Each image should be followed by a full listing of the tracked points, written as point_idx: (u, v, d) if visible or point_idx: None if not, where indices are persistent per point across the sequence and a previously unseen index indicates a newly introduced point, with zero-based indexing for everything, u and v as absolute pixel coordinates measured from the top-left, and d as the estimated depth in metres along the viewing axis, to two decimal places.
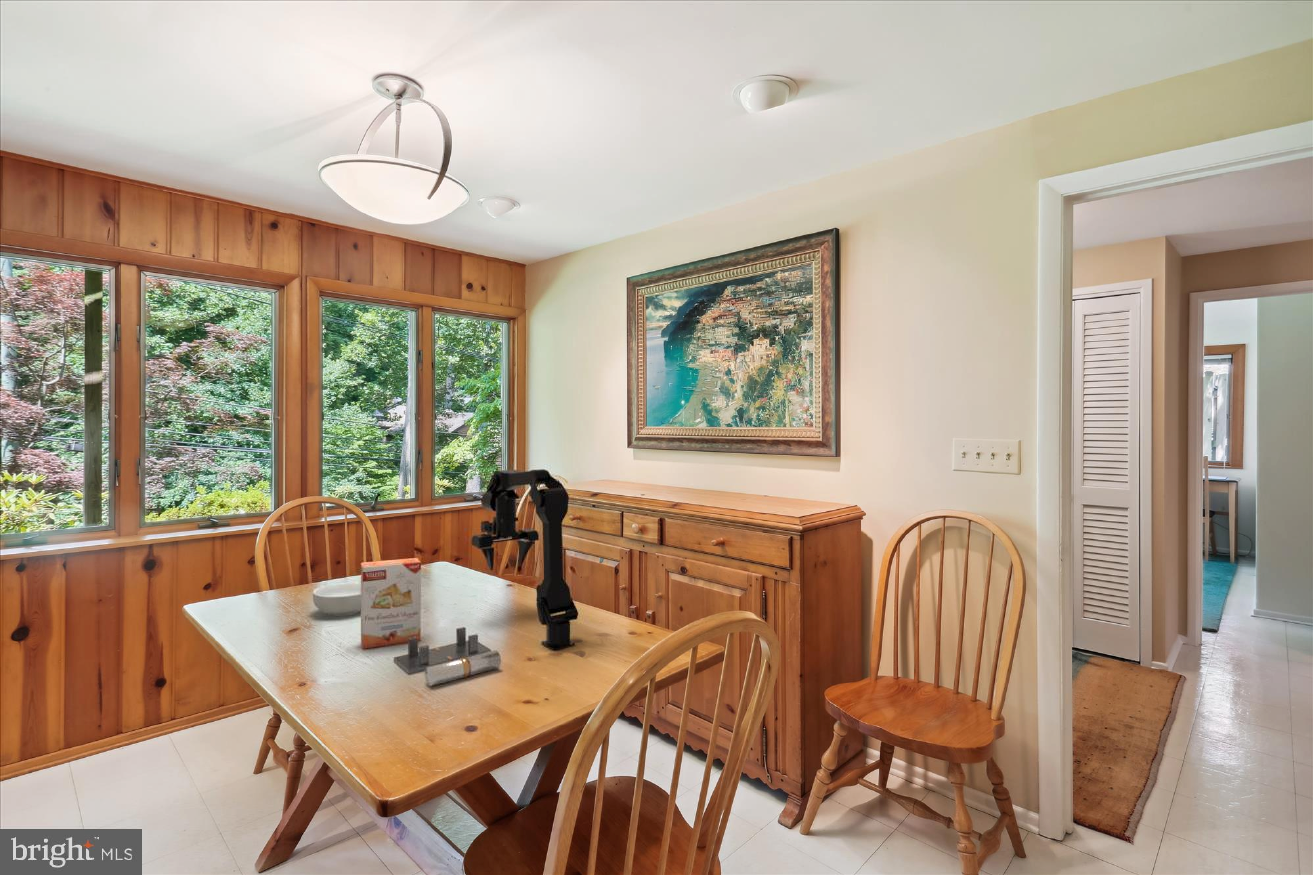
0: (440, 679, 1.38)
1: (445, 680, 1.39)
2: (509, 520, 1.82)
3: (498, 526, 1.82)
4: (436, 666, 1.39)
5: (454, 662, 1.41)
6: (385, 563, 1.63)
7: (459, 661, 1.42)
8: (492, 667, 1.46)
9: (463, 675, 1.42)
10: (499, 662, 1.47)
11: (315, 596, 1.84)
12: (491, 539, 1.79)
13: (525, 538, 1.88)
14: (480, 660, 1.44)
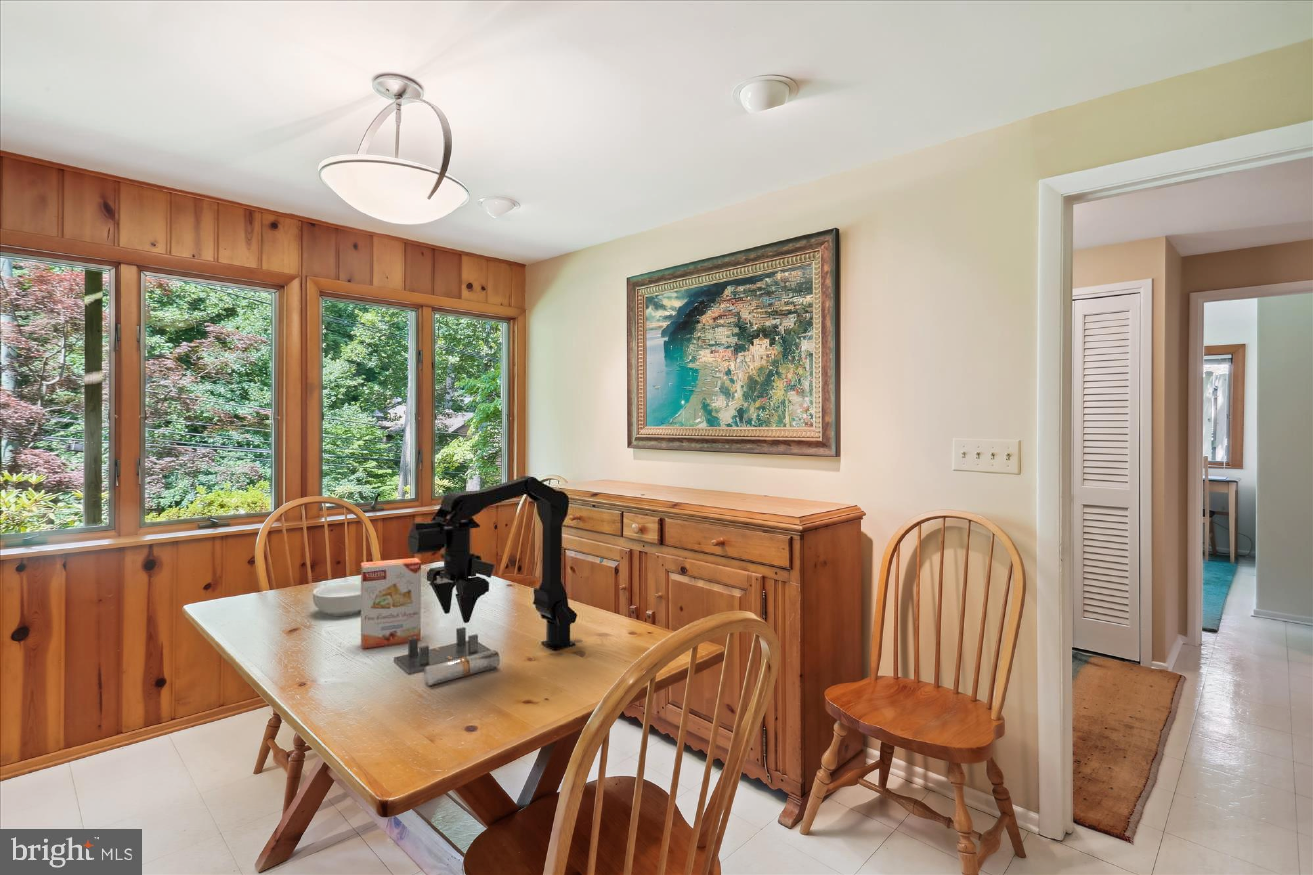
0: (439, 676, 1.38)
1: (444, 678, 1.39)
2: (444, 557, 1.43)
3: None
4: (434, 665, 1.40)
5: (452, 660, 1.42)
6: (385, 563, 1.63)
7: (457, 659, 1.43)
8: (491, 665, 1.46)
9: (462, 673, 1.42)
10: (498, 659, 1.47)
11: (315, 596, 1.84)
12: (433, 574, 1.47)
13: None
14: (478, 657, 1.45)
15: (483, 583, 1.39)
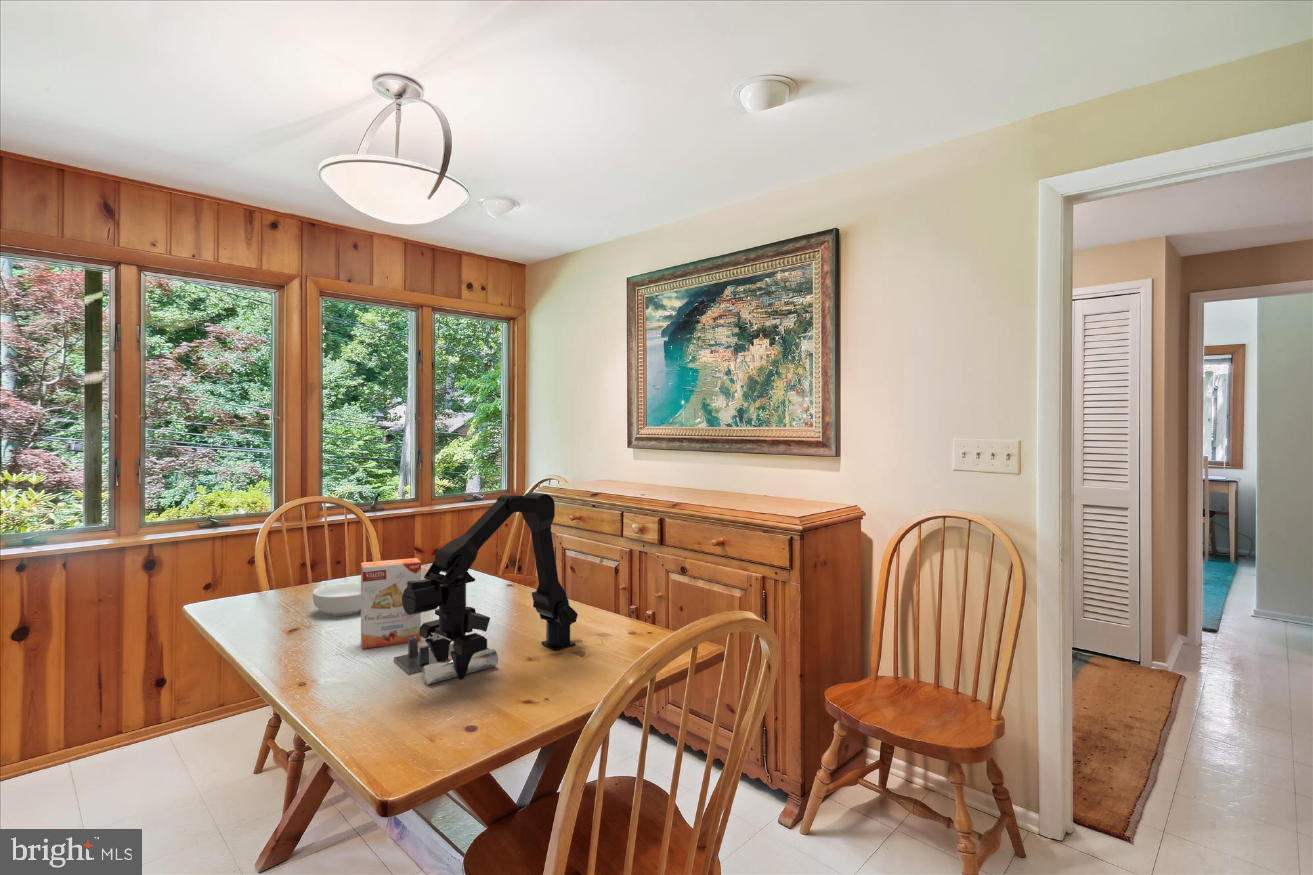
0: (437, 672, 1.39)
1: (443, 673, 1.40)
2: (439, 614, 1.40)
3: None
4: None
5: (449, 659, 1.43)
6: (385, 563, 1.63)
7: None
8: (490, 660, 1.47)
9: None
10: (496, 654, 1.48)
11: (315, 596, 1.84)
12: (426, 630, 1.43)
13: None
14: (475, 654, 1.46)
15: (482, 641, 1.36)
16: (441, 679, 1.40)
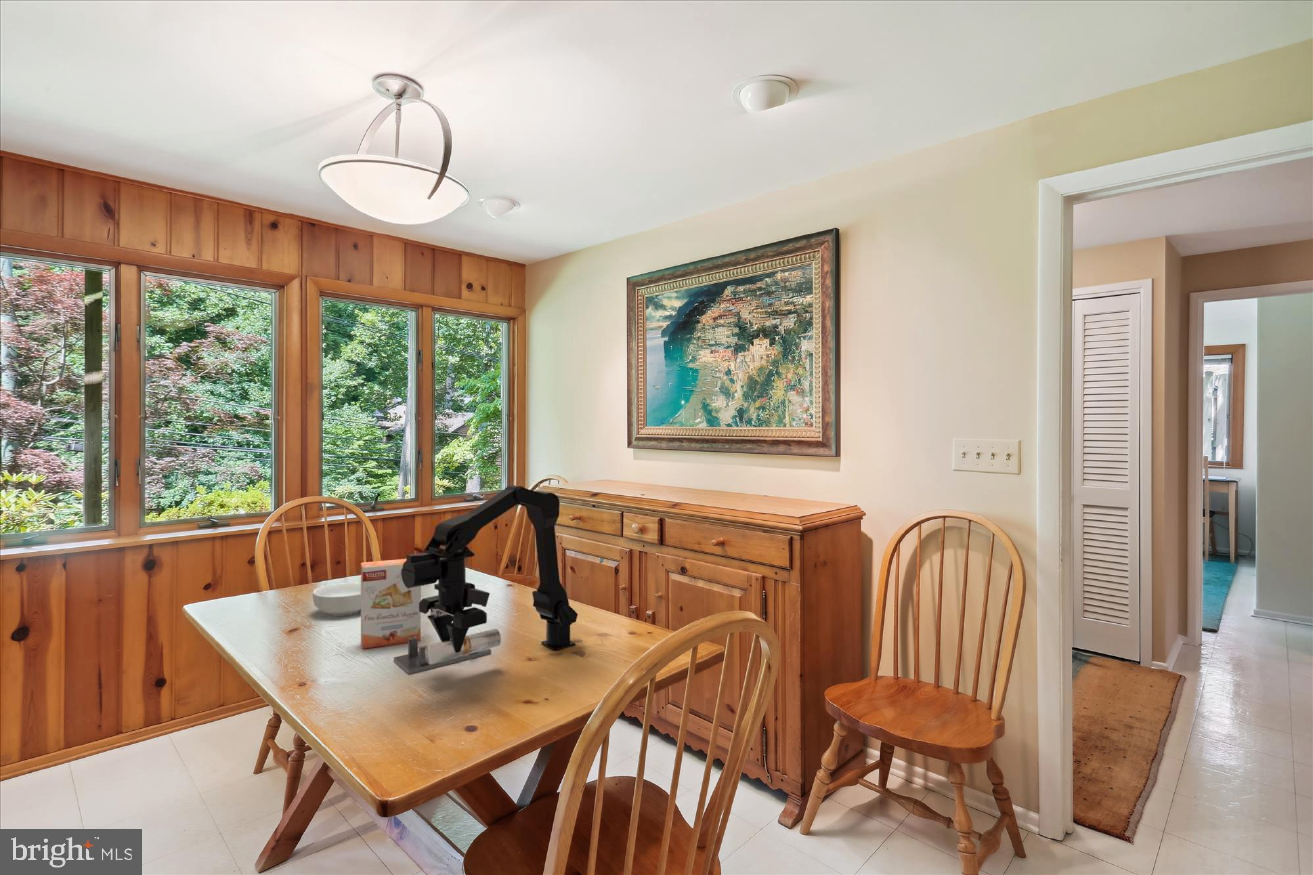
0: (441, 655, 1.38)
1: (446, 656, 1.39)
2: (438, 588, 1.39)
3: None
4: (435, 643, 1.39)
5: None
6: (385, 563, 1.63)
7: None
8: (493, 643, 1.46)
9: (464, 651, 1.41)
10: (499, 638, 1.47)
11: (315, 596, 1.84)
12: (426, 605, 1.43)
13: None
14: (479, 636, 1.44)
15: (481, 615, 1.36)
16: (443, 660, 1.39)
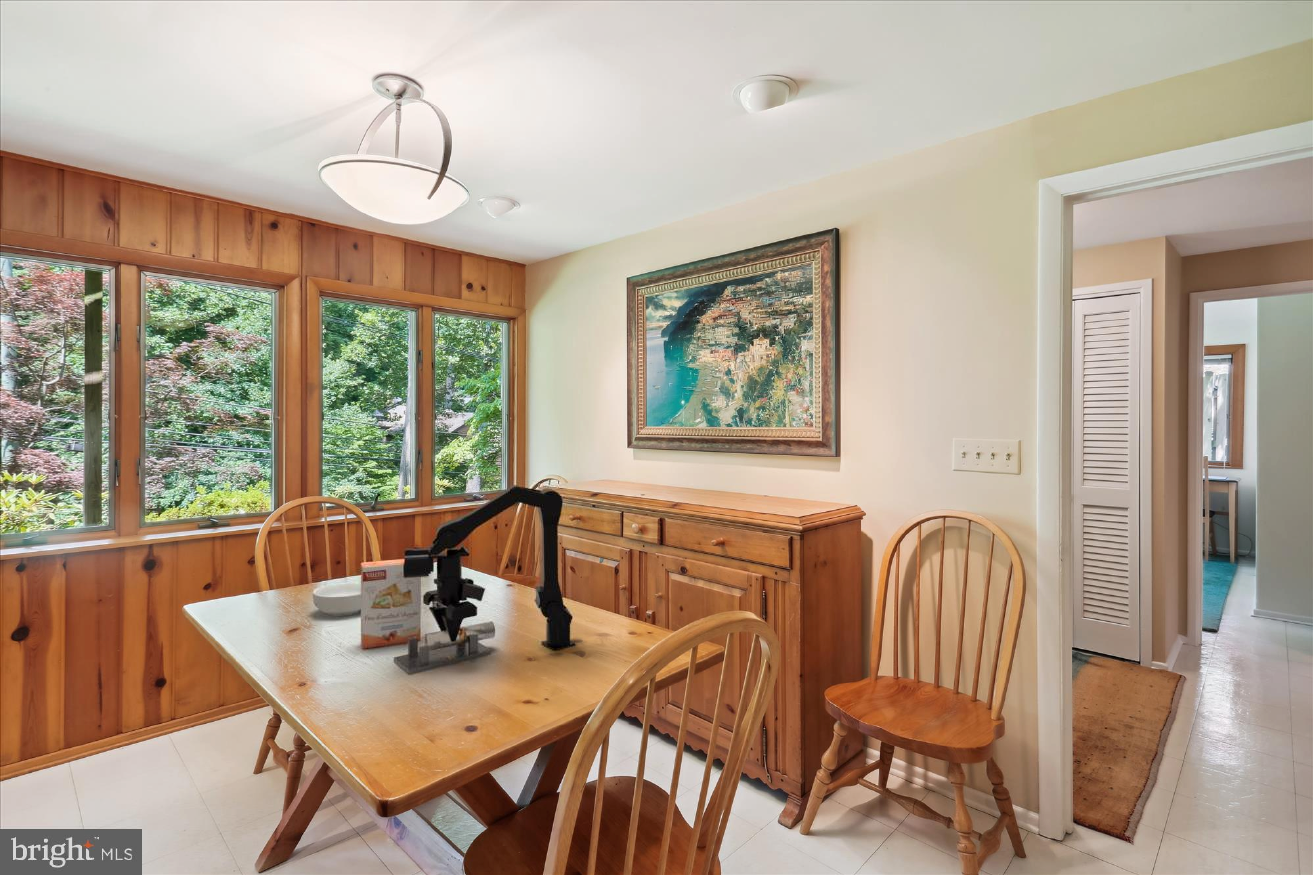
0: (437, 643, 1.52)
1: (442, 644, 1.53)
2: (436, 582, 1.54)
3: None
4: (433, 632, 1.54)
5: None
6: (385, 563, 1.63)
7: None
8: (487, 635, 1.59)
9: (459, 641, 1.55)
10: (493, 630, 1.60)
11: (315, 596, 1.84)
12: (428, 597, 1.58)
13: None
14: (474, 627, 1.58)
15: (471, 608, 1.49)
16: (440, 648, 1.53)
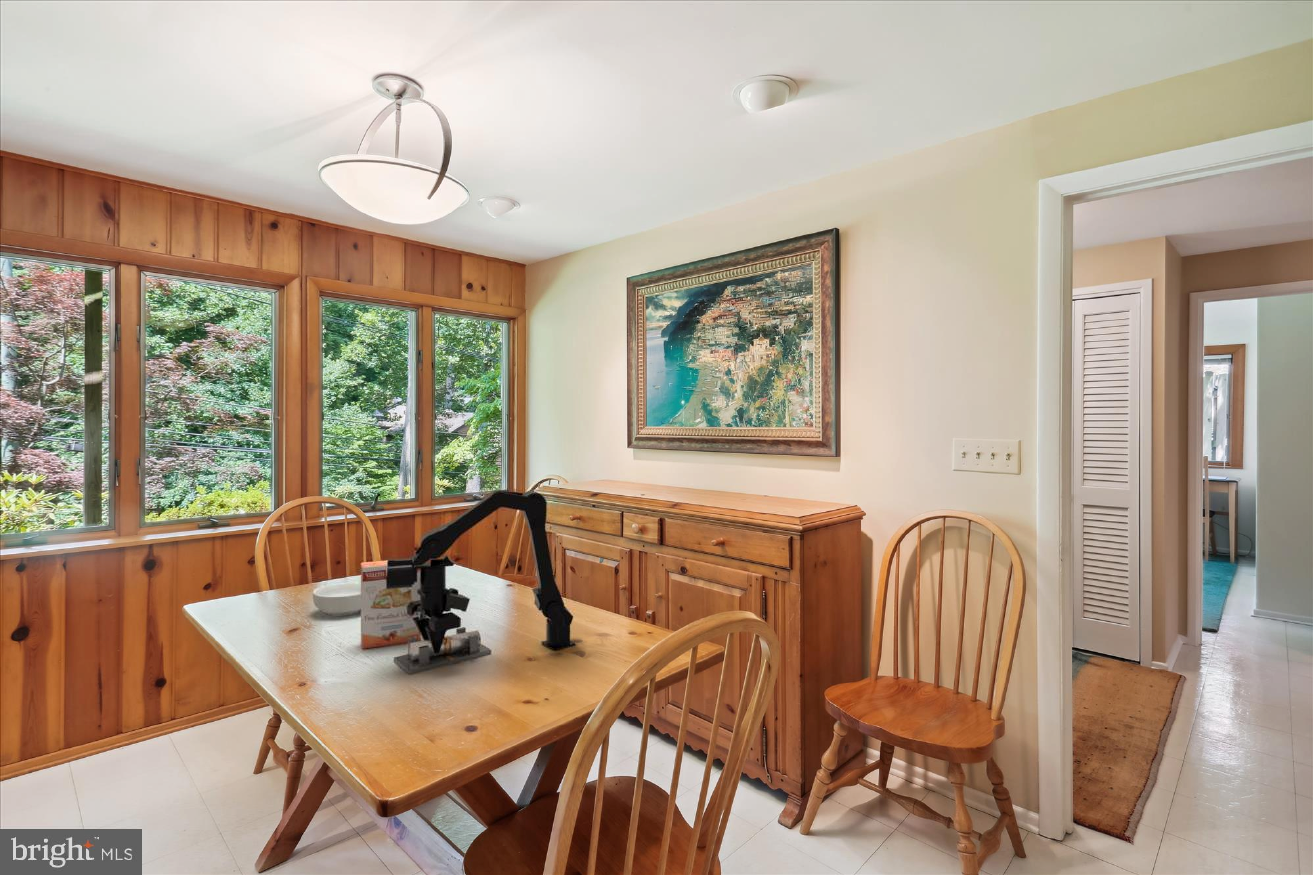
0: None
1: None
2: (420, 593, 1.51)
3: None
4: (418, 641, 1.51)
5: None
6: (385, 563, 1.63)
7: None
8: None
9: (444, 650, 1.53)
10: (479, 639, 1.57)
11: (315, 596, 1.84)
12: (411, 608, 1.55)
13: None
14: (460, 636, 1.56)
15: (454, 619, 1.47)
16: None
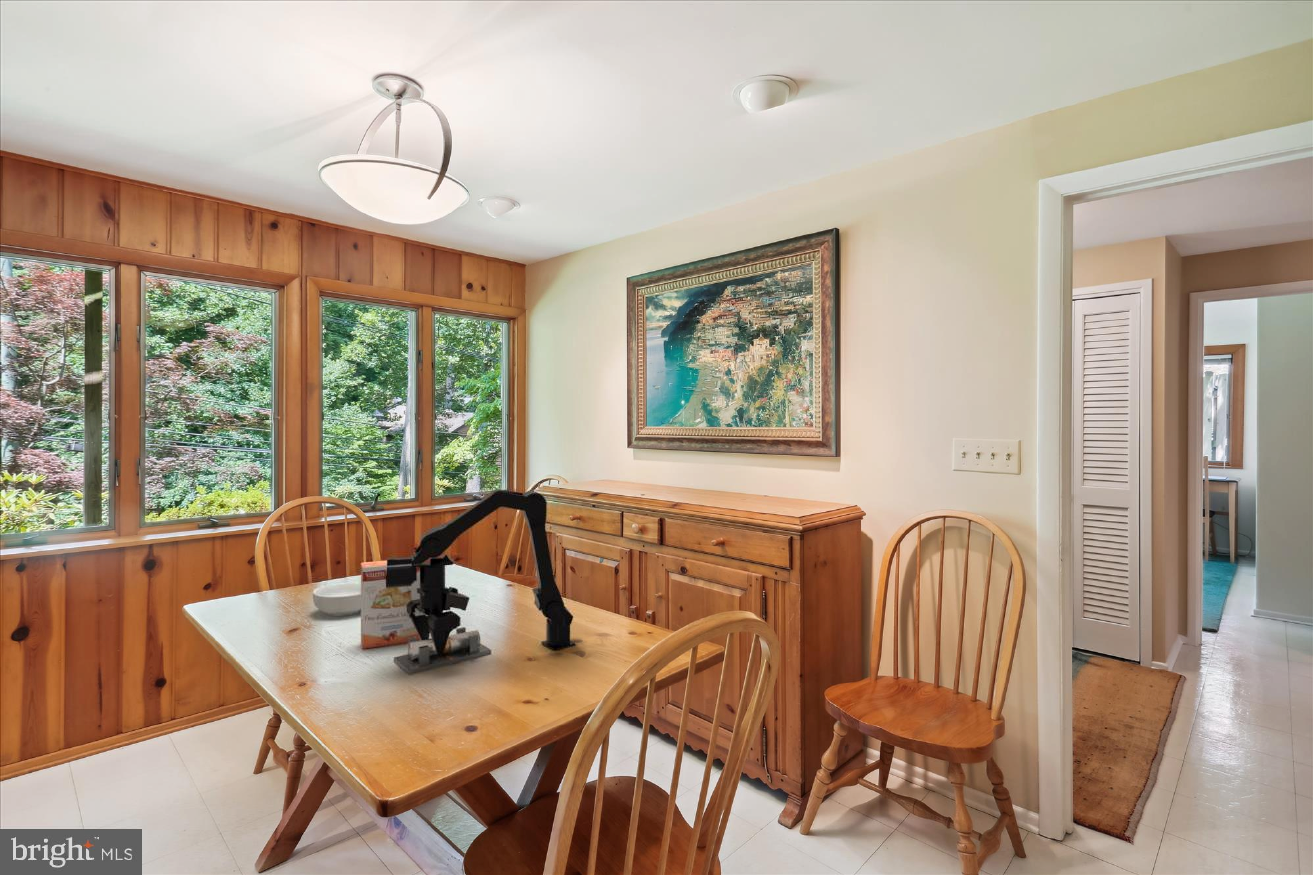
0: None
1: None
2: (419, 592, 1.51)
3: None
4: (417, 641, 1.52)
5: None
6: (385, 563, 1.63)
7: None
8: None
9: None
10: (478, 638, 1.58)
11: (315, 596, 1.84)
12: (411, 607, 1.55)
13: None
14: (459, 635, 1.56)
15: (454, 618, 1.47)
16: None
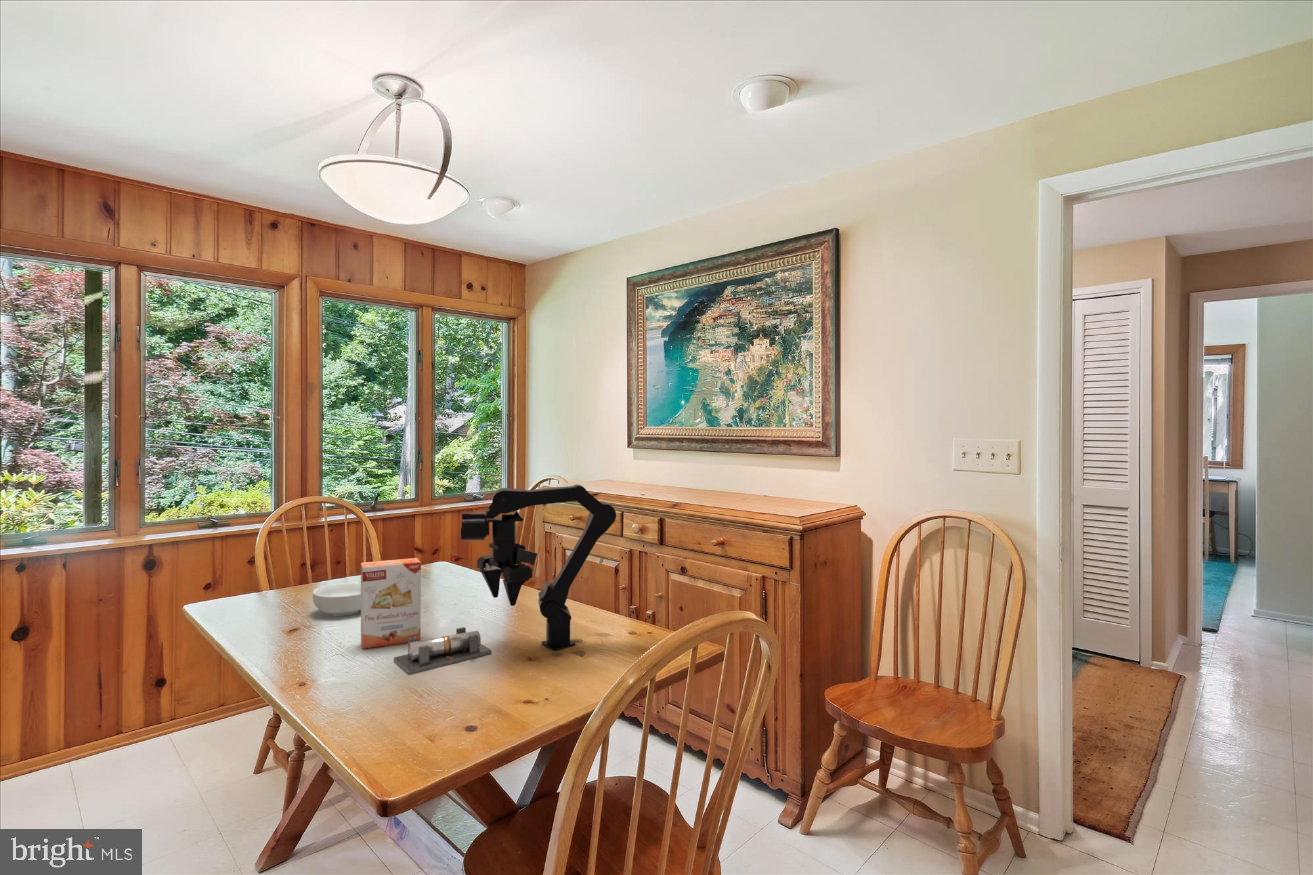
0: None
1: None
2: (492, 546, 1.58)
3: None
4: (417, 641, 1.51)
5: (435, 638, 1.53)
6: (385, 563, 1.63)
7: (440, 637, 1.54)
8: None
9: (444, 649, 1.53)
10: (479, 639, 1.57)
11: (315, 596, 1.84)
12: (482, 561, 1.63)
13: None
14: (459, 636, 1.56)
15: (527, 570, 1.54)
16: None
